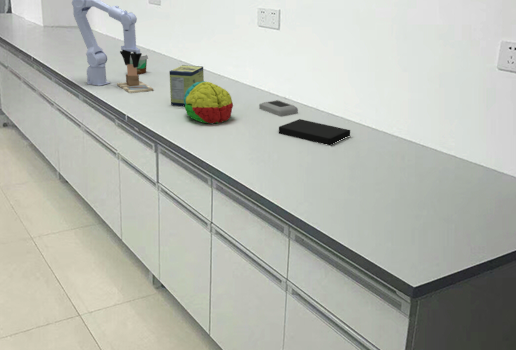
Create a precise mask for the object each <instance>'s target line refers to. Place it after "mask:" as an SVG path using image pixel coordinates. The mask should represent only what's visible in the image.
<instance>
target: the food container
mask: <svg viewBox="0 0 516 350" xmlns="http://www.w3.org/2000/svg"><path fill="white" fill-rule="evenodd" d="M148 56H149V55H147V54H146V55H141V57H140V59H139V64H138V67H137V75H139V76H140V75H145V74H147V66H148V65H147V62H148V61H147V59H149V57H148ZM130 64H133V62H132V58H131V56H130Z"/></svg>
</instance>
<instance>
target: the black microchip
mask: <svg viewBox="0 0 516 350" xmlns="http://www.w3.org/2000/svg"><path fill="white" fill-rule="evenodd" d="M278 134H280V135H284V136H288V137H292V138H297V139H300V140H305V141H310V142H312V143H313V142H314V143H317V142H318V143H317V144H321V143H323V144H322V145H325V144H327V145H326V146H332V145H334V144H336V143H335V142H337V141H339V140H341V139H343V138H345V137H347V136H350V137H351V129H346V128H342V127H337V126H333V125H328V124H323V123H319V122H315V121H311V120H305V119H301V118H299V119H297V120H294V121H291V122H288V123H285V124H283V125H280V126H278ZM343 140H344V139H343ZM341 141H342V140H341ZM339 142H340V141H339ZM333 143H334V144H333ZM337 143H338V142H337ZM331 144H332V145H331Z"/></svg>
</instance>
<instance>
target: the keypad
mask: <svg viewBox="0 0 516 350" xmlns="http://www.w3.org/2000/svg"><path fill="white" fill-rule="evenodd" d="M258 106H259V110H261V111H264V112H267V113H269V114H272V115H275V116H278V117H285V116H289V115H290V114H291V115H294V113H296V114H298V113H299V109H298V107H297V106H295V105H293V104H290V103H288V102H285V101H281V100H278V99H277V100H271V101H265V102H262V103H259V105H258ZM291 115H290V116H291Z"/></svg>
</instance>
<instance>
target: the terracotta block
mask: <svg viewBox="0 0 516 350" xmlns="http://www.w3.org/2000/svg"><path fill="white" fill-rule="evenodd" d="M126 71H127V74H128V76H137V67H136V68H134V67H133V64H127V65H126Z"/></svg>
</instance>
